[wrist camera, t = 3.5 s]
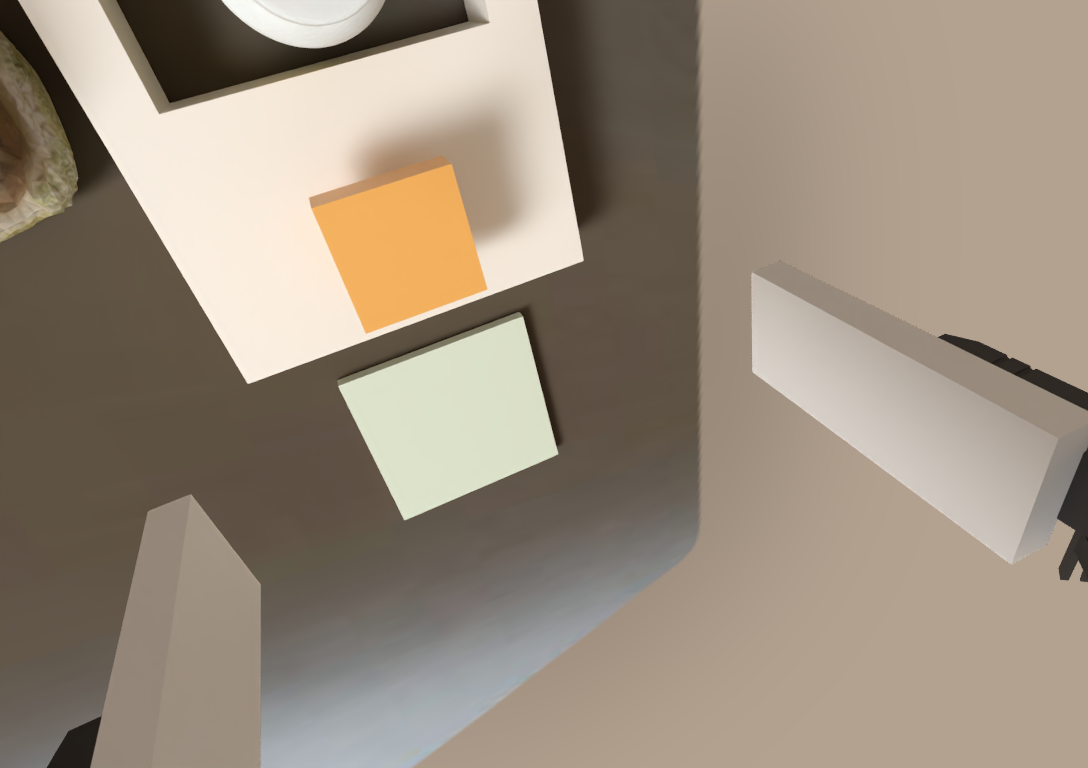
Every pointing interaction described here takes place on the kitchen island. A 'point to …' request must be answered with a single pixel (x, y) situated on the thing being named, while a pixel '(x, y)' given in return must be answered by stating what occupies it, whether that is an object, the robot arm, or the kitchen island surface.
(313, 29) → the supplement bottle
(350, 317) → the frame
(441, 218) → the orange sticky note pad
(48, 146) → the ceramic model
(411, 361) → the mat
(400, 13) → the kitchen island surface
